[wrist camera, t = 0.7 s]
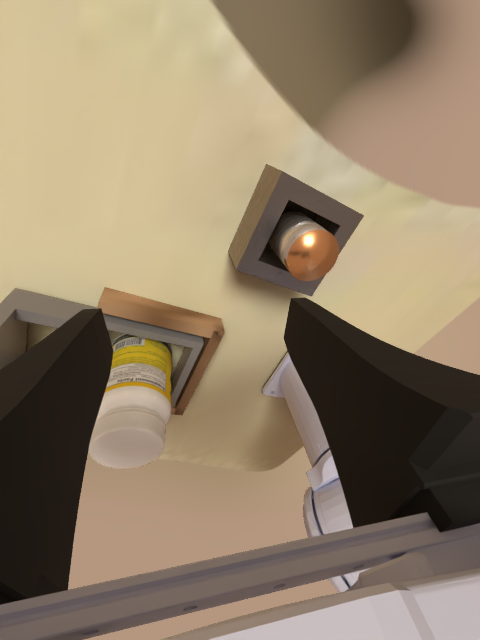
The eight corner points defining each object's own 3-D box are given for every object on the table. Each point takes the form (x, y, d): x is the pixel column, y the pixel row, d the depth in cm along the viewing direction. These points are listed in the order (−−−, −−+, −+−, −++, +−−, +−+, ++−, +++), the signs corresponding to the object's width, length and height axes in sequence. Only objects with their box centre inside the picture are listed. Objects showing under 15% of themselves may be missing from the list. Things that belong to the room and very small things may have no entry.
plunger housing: (339, 203, 18) (363, 215, 16) (295, 276, 21) (311, 296, 18) (266, 164, 16) (282, 171, 14) (228, 250, 19) (235, 269, 16)
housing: (221, 318, 22) (224, 332, 20) (181, 399, 26) (182, 415, 25) (104, 287, 18) (98, 301, 17) (83, 385, 23) (76, 403, 22)
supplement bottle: (153, 379, 24) (144, 478, 17) (99, 360, 22) (64, 465, 15) (183, 342, 22) (186, 437, 16) (128, 317, 20) (103, 415, 13)
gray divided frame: (201, 327, 22) (205, 362, 18) (173, 389, 25) (172, 428, 22) (15, 281, 17) (-22, 318, 14) (12, 365, 20) (-19, 410, 17)
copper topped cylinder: (320, 221, 17) (349, 241, 14) (297, 261, 18) (319, 287, 15) (282, 203, 16) (305, 220, 13) (260, 247, 17) (277, 271, 14)
